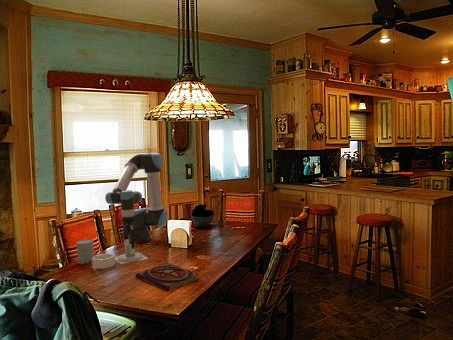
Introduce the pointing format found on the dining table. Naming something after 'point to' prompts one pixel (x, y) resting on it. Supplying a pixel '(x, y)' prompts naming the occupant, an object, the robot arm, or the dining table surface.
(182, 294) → the dining table surface
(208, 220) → the bowl of black rocks
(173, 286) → the book
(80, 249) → the grey cylindrical piece
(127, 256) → the sage lid
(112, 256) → the ceramic bowl
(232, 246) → the dining table surface
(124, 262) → the grey mat
